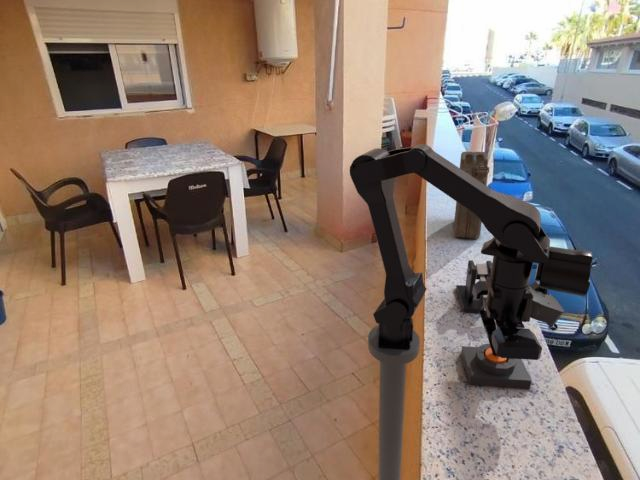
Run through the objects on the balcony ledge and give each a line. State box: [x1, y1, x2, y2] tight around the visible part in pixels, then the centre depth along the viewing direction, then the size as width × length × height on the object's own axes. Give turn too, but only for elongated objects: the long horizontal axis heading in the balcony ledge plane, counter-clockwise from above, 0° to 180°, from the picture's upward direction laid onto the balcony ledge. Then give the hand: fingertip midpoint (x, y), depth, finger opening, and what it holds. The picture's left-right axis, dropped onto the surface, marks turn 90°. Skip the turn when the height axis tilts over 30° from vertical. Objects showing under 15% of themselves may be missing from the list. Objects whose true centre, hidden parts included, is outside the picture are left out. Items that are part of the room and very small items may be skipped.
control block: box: [460, 343, 532, 390], centre depth 68 cm, size 10×8×4 cm
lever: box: [475, 263, 488, 310], centre depth 83 cm, size 13×3×3 cm, turn 172°
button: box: [485, 348, 507, 364], centre depth 68 cm, size 4×4×2 cm
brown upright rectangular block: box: [453, 151, 490, 239], centre depth 123 cm, size 19×8×25 cm, turn 161°
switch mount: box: [455, 259, 493, 314], centre depth 87 cm, size 10×8×10 cm
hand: (495, 354), depth 67 cm, fingers closed, pressing on button
